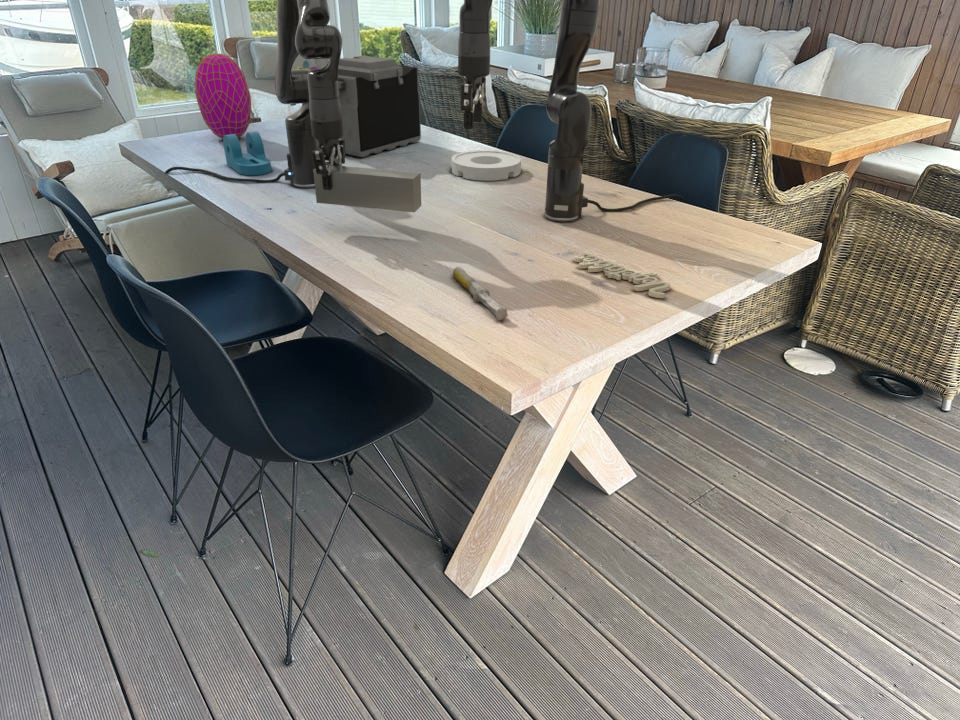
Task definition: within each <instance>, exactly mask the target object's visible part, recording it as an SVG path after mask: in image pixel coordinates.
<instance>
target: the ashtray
mask: <svg viewBox="0 0 960 720" xmlns="http://www.w3.org/2000/svg"><path fill="white" fill-rule="evenodd" d="M521 172H522V158H521V157H520V156H519V155H517V154H515V153H512V152H508V151H502V150H501V151H500V150H487V149H482V150H481V149H479V150H468V151H463V152H459V153H456V154H454V155H453V156H452V157H451V173H452V174H453V175H454V176H456V177H462V178H463V179H467V180H471V181H482V182H483V181H486V182H487V181H488V182H489V181H491V182H492V181H503V180H508V179H509V178H515V177H517V176H519V175H521Z"/></svg>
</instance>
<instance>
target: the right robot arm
mask: <svg viewBox="0 0 960 720" xmlns="http://www.w3.org/2000/svg"><path fill="white" fill-rule="evenodd" d="M492 4H493V0H464V3H463V4H462V5H461V6H460V8H459V16H458V17H459V18H458V19H459V21H458V22H459V23H458V24H459V28H458V29H459V30H458V31H459V32H458V39H457V40H458V41H457V53H458V54H457V74H458V75H459V76H461V77H465V83H461V84H460V111H461V112H462V113H463V128H464V129H465V130H473V129H474V123H481V122H482V121H483V107H484V104H485V102H486V80H487V79H486V77H489V75H490V74H491V33H490V32H491V10H492V9H491V8H492ZM600 5H601V0H562V1H561V6H560V14H559V22H558V35H557V42H556V49H555V57H554V65H553V71H552V75H551V80H550V85H549V88H548V94H547V99H546V107H545V108H546V115H547V117H548V119H549V120H550V121H551V122H552V123H553V124H555V125H557V132H556V138H555V139H553V140H552V141H550V142H549V145H548V156H547V171H546V172H547V173H546V175H547V176H546V190H545V191H546V192H545V206H544V216H543V217H545V219H547V220H550V221H552V222H559V223H567V222H568V223H569V222H573V221H576V220H578V219H581V218H582V212H583V208H588V205H589V204H591V205H594V206H596V207H597V209H598V210H599V211H602V212H615V213H616V212H623V211H624V212H625V211H628V210H629V211H630V210H632V209H635V208H637V207H639V206H640V205H643V204H646V203H648V202H653V201H660V200H664V199H669V198H677V199H679V200H681V201H686V200H685V198H684V197H683V196H682V195H680V194H677V193H671V194H667V195H662V196H653V197H649V198H646V199H642V200H640V201H638V202H635V203H634V204H633V205H630V206H624V207H617V208H607V207H602V206H601V204H600V203H599V202H597V201H595V200H592V199H589V198H588V197H586V196H584V190H585V184H584V182H582V178H583V168H584V167H583V166H584V165H583V164H584V154H585V149H586V146H587V144H588V140H589V135H590V130H591V129H590V128H591V120H592V104H591V100H590V98H589V96H588V95H587V94H585V93H584V92H582V91H579V90H578V82H579V75H580V70H581V67H582V63H583V61H584V59H585V57H586V56H587V53H588V52H589V49H590V47H591V46H592V43H593V41H594V39H595V37H596V33H597V29H598V23H599V22H598V21H599V16H600V15H599V14H600Z"/></svg>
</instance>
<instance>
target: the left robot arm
mask: <svg viewBox="0 0 960 720" xmlns="http://www.w3.org/2000/svg"><path fill="white" fill-rule="evenodd" d="M329 7H330V6H329V1H328V0H277V2H276V33H277V34H276V38H277V39H276V40H277V41H276V42H277V43H276V44H277V46H276V47H277V48H276V50H277V51H276V62H275V63H276V64H275V74H274V89H275V90H274V91H275V95H276V98H277V100H278V102H279V103H281V104H283V105H298V104H299V105H300V104H301V106H300V108H299V109H298V110H297V111H295V112H294V113H292V114H290V115H288V116H286V117H285V120H284V123H285V131H286V138H287V146H288V153H287V154H286V161H287V168H286V169H283V172H281V173H279V174H278V175H277V176H276V177H275V178H271V179H258V178H239V177H232V176H231V177H230V176H226V175H222V174H219V173H217V172H214V171H210V170H207V169H202V168H193V167H185V166H172V167H169V168H168V169H166V170H165V171H164V173H163V174H164V175H168V174H169V173H170V172H173V171H177V170H179V171H187V172H195V173H196V172H197V173H198V172H199V173H204V174H208V175H210V176H214V177H217V178H219V179H222V180H225V181H231V182H242V183H259V184H260V183H261V184H262V183H263V184H264V183H275V182H278V181H280V179H281V178H283V177H284V181H287V182H288V181H289V184H290V186H294V187H296V188H300V189H301V188H303V189H310V188H315V182H314V173H313V170H314V169H316V173H317V174H320V175H322V183H323V189H324V190H331V189H332V180H331V166H333V165H336V166H343V165H344V164H345V163H346V154H345V140H344V139H339V138H341V137H343V123H342V111H341V104H340V99H339V89H338V67H339V60H340V59H341V55H342V50H343V35H342V33H341V31H340V29H339V28H338V27H337V26H335V25H332V24H329V23H330V21H331V12H330V8H329ZM299 56H300V58H303V59H304V60H327V62H326V64H325V65H324V66H323V67H320V68H319V69H316V70H313V71H309V70H307V69H298V68H297V69H298V70H297V69H292V68H293V66H294V63H295V62H296V59H297V58H298V57H299ZM326 165H327V167H326ZM319 166H320V168H319Z"/></svg>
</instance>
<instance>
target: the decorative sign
mask: <svg viewBox="0 0 960 720" xmlns="http://www.w3.org/2000/svg"><path fill="white" fill-rule="evenodd" d="M574 262H575V263H578V269H588V270H587V272H588V273H598V272H603V273H604V276H606V277H607V278H608V279H614V280H617V281H621V279H622V280H627V281H628V282H630V283H633V284H634V285H633V291H636V292H643V291H647V290H648V293H647V294H648V296H649V297H652V298H656V299H664V298H665V295H666V292H668V291H669V290H670V289H671V283H670V282H668V281H659V279H658V272H657V271H648V272H639V271H637V270H634V269H630V268H628V267H627V266H626V267H625V266H624V265H619V264H618V263H615V262H611V261H610V260H604V258H601V257H598V256H596V255H592V254H590V253H587V252H586V253H582V254H581V255H580V256H578V255H575V256H574Z"/></svg>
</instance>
